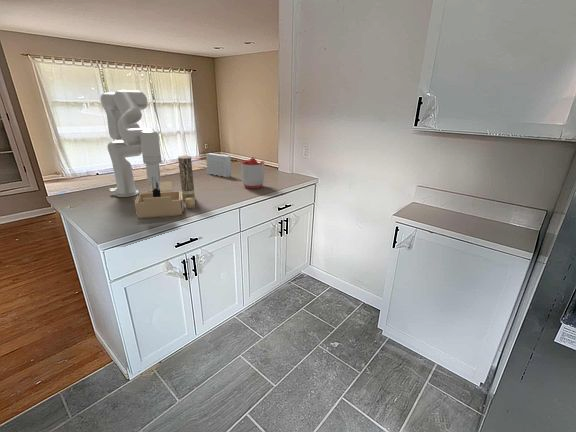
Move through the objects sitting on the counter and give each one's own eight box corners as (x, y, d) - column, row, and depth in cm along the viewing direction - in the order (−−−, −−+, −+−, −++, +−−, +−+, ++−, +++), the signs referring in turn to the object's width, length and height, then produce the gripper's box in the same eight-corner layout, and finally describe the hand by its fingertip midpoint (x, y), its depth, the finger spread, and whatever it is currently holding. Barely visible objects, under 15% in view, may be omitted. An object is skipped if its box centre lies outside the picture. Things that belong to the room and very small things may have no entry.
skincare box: (231, 176, 226) (230, 155, 220) (226, 177, 222) (225, 156, 216) (212, 172, 236) (210, 152, 230) (206, 173, 232) (205, 153, 226)
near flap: (144, 202, 141) (142, 199, 135) (144, 201, 141) (142, 198, 135) (171, 200, 144) (170, 197, 138) (171, 199, 144) (170, 196, 138)
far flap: (172, 190, 160) (171, 181, 163) (172, 190, 159) (171, 181, 163) (148, 192, 156) (148, 183, 159) (148, 191, 155) (148, 182, 159)
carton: (136, 219, 143) (134, 203, 140) (140, 208, 157) (138, 193, 154) (183, 214, 149) (182, 199, 147) (183, 204, 164) (181, 190, 161)
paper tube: (190, 196, 177) (186, 155, 168) (197, 199, 173) (193, 156, 164) (180, 199, 172) (175, 156, 163) (187, 202, 168) (182, 158, 159)
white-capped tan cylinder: (186, 209, 157) (185, 200, 156) (185, 206, 162) (185, 197, 160) (195, 208, 159) (194, 199, 157) (195, 205, 163) (194, 196, 161)
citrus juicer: (269, 185, 206) (270, 156, 199) (257, 191, 191) (257, 160, 184) (250, 182, 212) (250, 154, 205) (237, 187, 197) (236, 158, 190)
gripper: (144, 155, 137) (149, 193, 144) (141, 163, 124) (147, 204, 131) (161, 155, 139) (166, 192, 146) (160, 162, 126) (165, 202, 133)
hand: (157, 197), depth 139 cm, fingers closed
